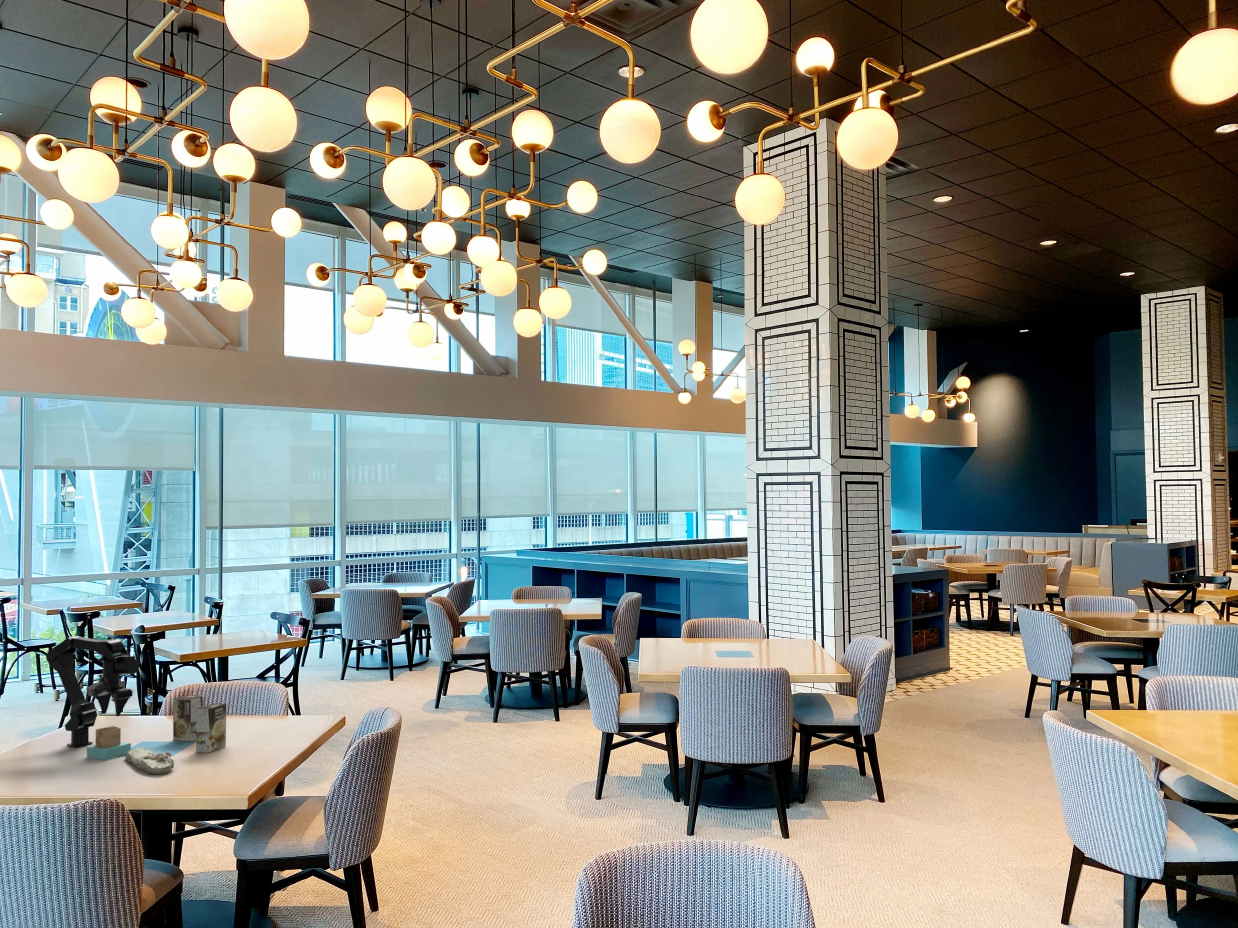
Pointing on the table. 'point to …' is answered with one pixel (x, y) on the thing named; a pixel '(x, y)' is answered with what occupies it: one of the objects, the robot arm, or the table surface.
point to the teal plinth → (108, 751)
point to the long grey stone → (150, 760)
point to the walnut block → (108, 737)
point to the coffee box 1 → (185, 717)
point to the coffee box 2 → (211, 727)
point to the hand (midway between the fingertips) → (111, 714)
